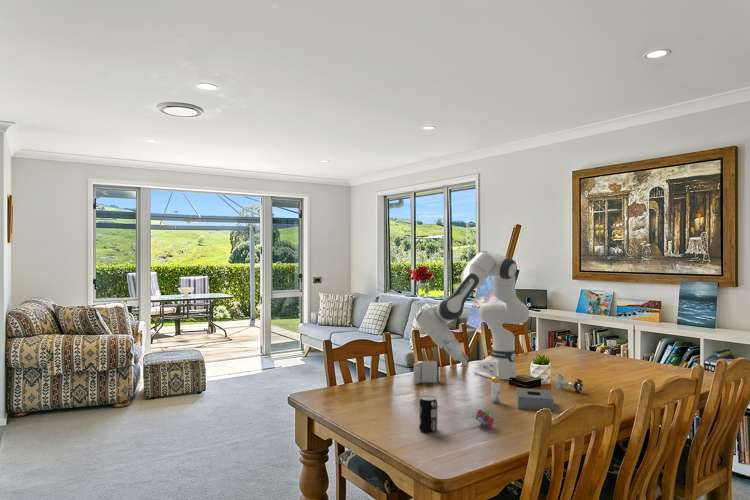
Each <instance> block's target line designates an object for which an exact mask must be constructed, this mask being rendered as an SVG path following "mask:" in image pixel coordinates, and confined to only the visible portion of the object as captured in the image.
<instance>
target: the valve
mask: <svg viewBox="0 0 750 500" xmlns="http://www.w3.org/2000/svg"><path fill="white" fill-rule="evenodd" d="M555 377H556V378H555V386H556V387H555V388H556V390H559V391H560V390H561V391H563V390H564V389H565V387H566V388H567V387H571V388H572V387H573V389H575V390H574V392H575V393H577V394H581V392H582V391H583V388H582V387H584V384H583V380H581V379H580V378H577V380H576V381H574V382H569V381H568V380H567V379H565V377H564V374H558V373H557V374H556V375H555Z"/></svg>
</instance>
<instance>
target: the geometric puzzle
mask: <svg viewBox="0 0 750 500" xmlns="http://www.w3.org/2000/svg"><path fill="white" fill-rule="evenodd" d="M491 411H492V410H491V409H489V410H488V411H485V412H484V410H483V409H478V410H477V411H476V413H475V420H476V421H477V422H476V424H477V427H478V429H480V430H481V429H483V427H486V428H487V427H488V428H487V429H488V430H491V429H492V427H493V424H494V422H495V419H494V417H493V414H492V417H491V416H490V412H491ZM478 422H479V423H480V425H478Z"/></svg>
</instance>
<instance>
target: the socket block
mask: <svg viewBox="0 0 750 500" xmlns="http://www.w3.org/2000/svg"><path fill="white" fill-rule="evenodd" d="M515 401H516V406H517V409H518V410H528V409H531V411H541V410H540V409H543V408H549V409H550V410H551V411H550V412H554V398H553V396H552V393H551V391H550V389H540V388H539V389H537V388H536V389H535V388H524V387H522V388H521V387H520V388H519V387H516V388H515ZM534 409H535V410H534Z"/></svg>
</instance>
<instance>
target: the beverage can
mask: <svg viewBox="0 0 750 500" xmlns="http://www.w3.org/2000/svg"><path fill="white" fill-rule="evenodd" d="M418 404H419V409H418V410H419V411H418V412H419V415H418V417H419V418H418V419H419V420H418V423H419V425H418V426H419V427H418V428H419V430H420V432H422V433H426V434H433V433H435V432H436V431H437V430H438V400H437V397H436V396H433V395H429V394H428V395H427V394H426V395H421V396H420V400H419V402H418Z"/></svg>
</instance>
